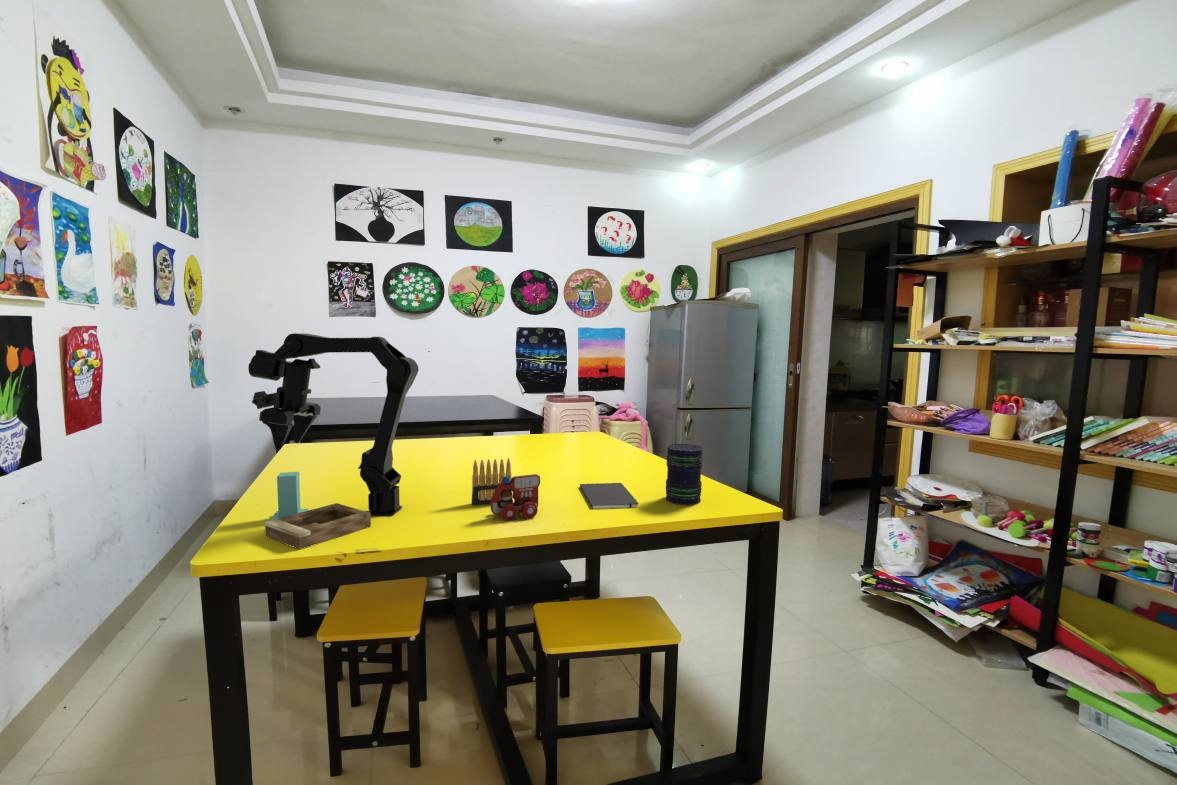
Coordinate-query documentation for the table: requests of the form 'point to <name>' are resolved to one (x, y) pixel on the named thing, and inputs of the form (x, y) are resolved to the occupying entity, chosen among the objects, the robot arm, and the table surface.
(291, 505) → the peg
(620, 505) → the notebook
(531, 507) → the toy fire truck
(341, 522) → the keyhole plate
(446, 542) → the table surface
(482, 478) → the ammunition clip
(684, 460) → the storage jar
